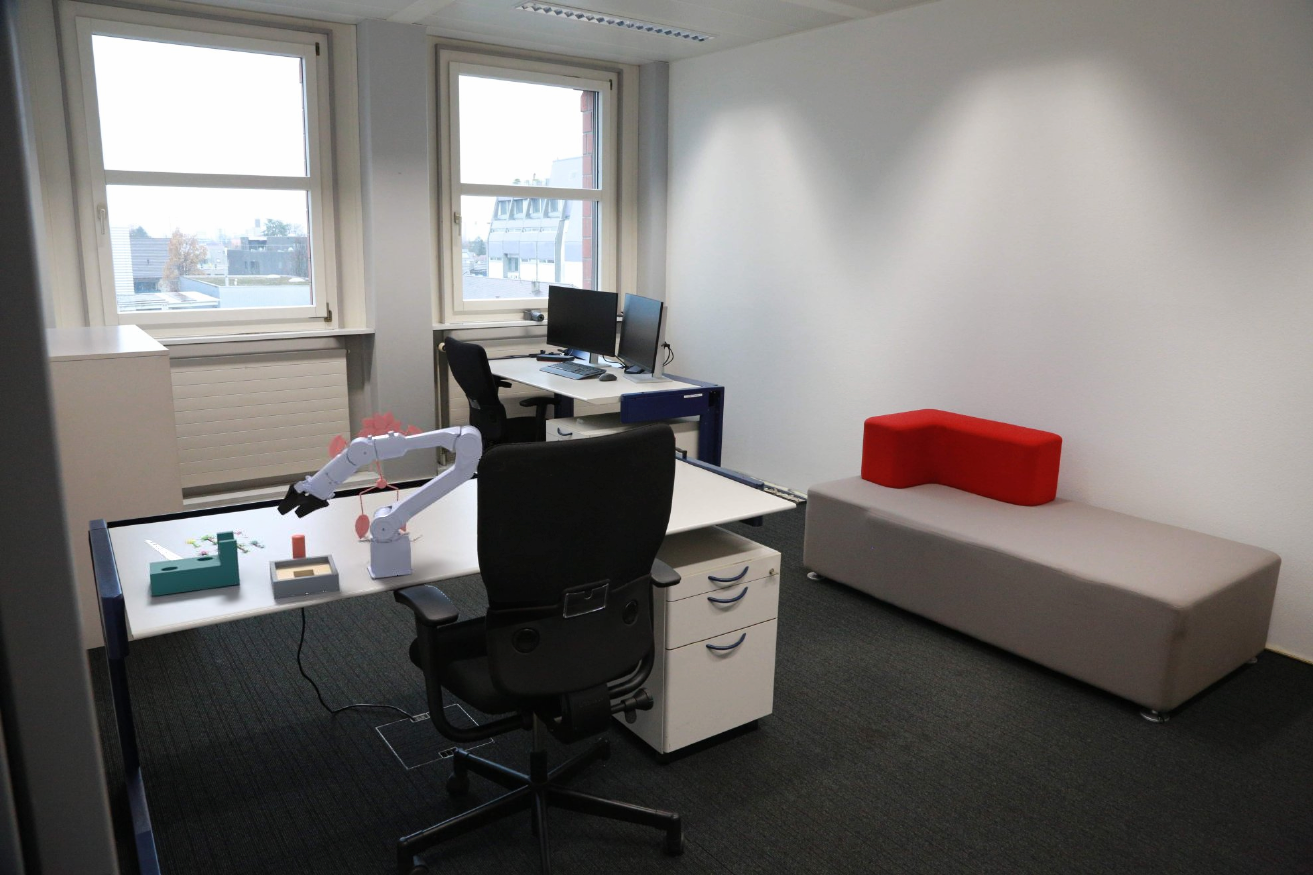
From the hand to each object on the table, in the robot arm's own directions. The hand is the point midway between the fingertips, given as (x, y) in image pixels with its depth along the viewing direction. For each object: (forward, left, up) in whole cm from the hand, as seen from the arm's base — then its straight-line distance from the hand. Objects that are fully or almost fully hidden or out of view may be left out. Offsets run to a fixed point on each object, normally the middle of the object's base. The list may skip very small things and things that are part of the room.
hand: (288, 513), depth 213 cm
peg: (-2, -5, -16) cm, 17 cm away
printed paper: (+14, -30, -16) cm, 37 cm away
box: (-2, +6, -16) cm, 17 cm away
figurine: (-25, -21, -16) cm, 36 cm away
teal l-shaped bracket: (+21, -3, -16) cm, 26 cm away
